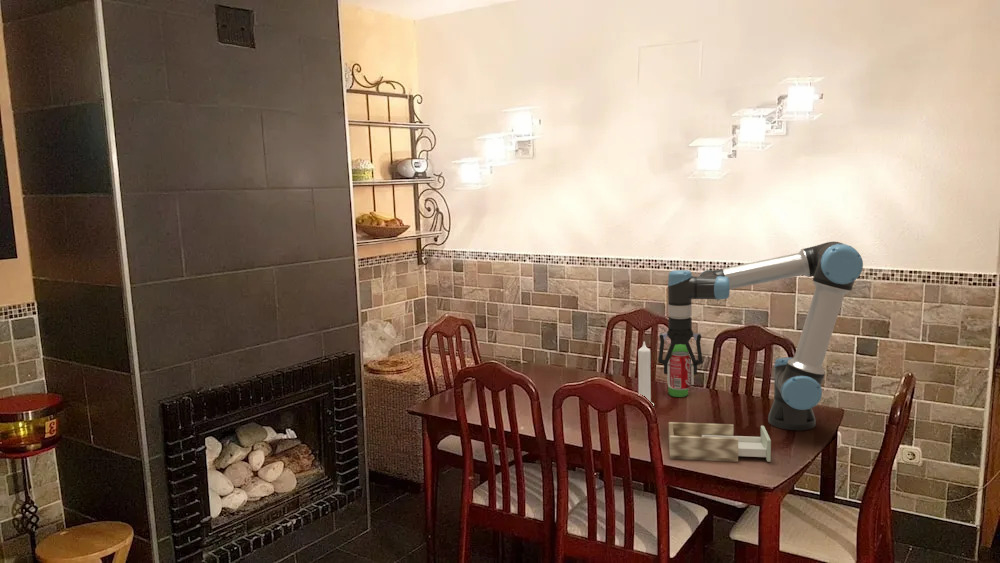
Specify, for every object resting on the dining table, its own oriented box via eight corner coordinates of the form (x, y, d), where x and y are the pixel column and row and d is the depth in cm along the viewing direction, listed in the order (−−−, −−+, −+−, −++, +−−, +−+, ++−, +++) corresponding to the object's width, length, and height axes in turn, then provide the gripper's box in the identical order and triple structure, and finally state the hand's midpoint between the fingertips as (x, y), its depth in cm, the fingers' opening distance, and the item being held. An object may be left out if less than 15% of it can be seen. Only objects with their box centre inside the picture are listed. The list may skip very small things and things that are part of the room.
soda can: (689, 385, 243) (689, 350, 242) (692, 390, 236) (692, 355, 235) (668, 385, 244) (668, 351, 242) (671, 391, 237) (670, 356, 235)
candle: (631, 404, 273) (630, 340, 269) (646, 401, 275) (646, 338, 272) (642, 409, 266) (641, 344, 263) (657, 406, 269) (657, 342, 266)
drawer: (763, 445, 225) (764, 425, 224) (770, 461, 213) (770, 440, 212) (701, 443, 229) (701, 423, 228) (704, 458, 217) (704, 437, 216)
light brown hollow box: (732, 445, 228) (733, 424, 227) (738, 461, 214) (738, 439, 213) (668, 442, 232) (668, 422, 231) (669, 458, 218) (669, 436, 217)
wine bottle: (679, 391, 288) (679, 318, 284) (692, 396, 281) (692, 321, 277) (664, 394, 285) (663, 320, 281) (676, 399, 278) (676, 323, 274)
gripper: (710, 314, 238) (710, 381, 241) (649, 314, 243) (650, 380, 246) (712, 318, 231) (712, 387, 234) (649, 318, 235) (650, 386, 238)
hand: (680, 383), depth 240 cm, fingers closed on soda can, 7 cm apart
